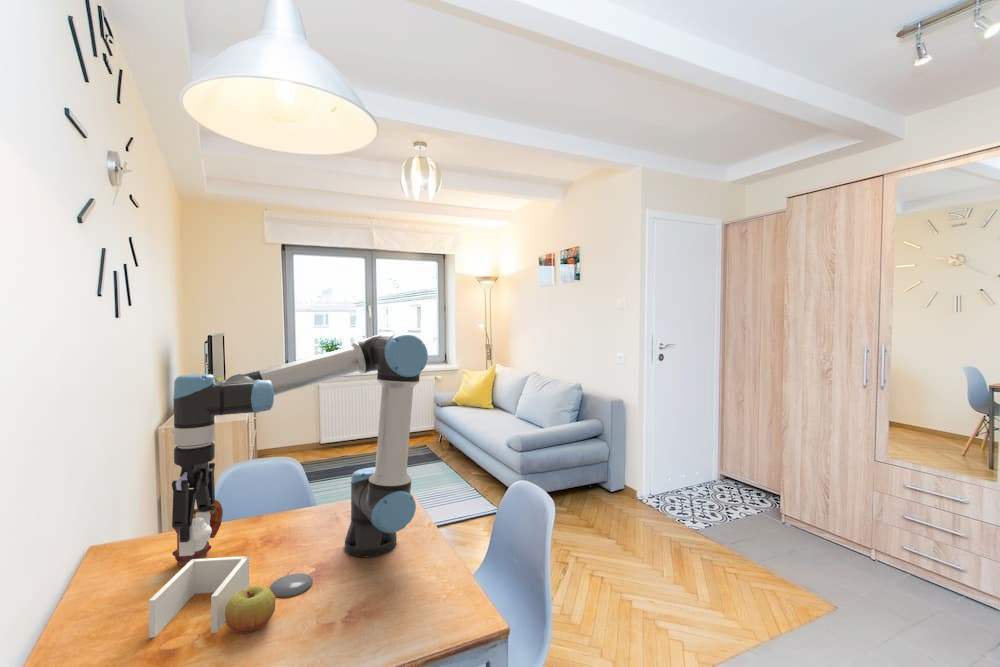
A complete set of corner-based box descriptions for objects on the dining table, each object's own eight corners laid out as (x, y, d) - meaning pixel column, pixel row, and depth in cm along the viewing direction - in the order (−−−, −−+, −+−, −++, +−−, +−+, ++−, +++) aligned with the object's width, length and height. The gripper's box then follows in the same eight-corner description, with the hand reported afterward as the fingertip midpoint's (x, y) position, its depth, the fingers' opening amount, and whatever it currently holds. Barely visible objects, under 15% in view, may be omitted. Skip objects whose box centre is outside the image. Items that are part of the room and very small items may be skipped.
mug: (189, 572, 122) (189, 516, 122) (164, 569, 124) (164, 514, 124) (232, 547, 136) (232, 497, 136) (208, 544, 138) (208, 494, 138)
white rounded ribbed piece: (191, 541, 105) (191, 511, 105) (218, 542, 105) (217, 512, 105) (171, 555, 99) (171, 523, 99) (199, 556, 99) (199, 523, 99)
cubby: (249, 587, 116) (249, 556, 116) (217, 632, 99) (217, 595, 99) (191, 591, 114) (191, 559, 114) (148, 637, 97) (148, 600, 97)
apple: (221, 645, 95) (221, 607, 95) (228, 618, 104) (228, 583, 104) (274, 633, 99) (274, 596, 99) (276, 607, 108) (276, 574, 107)
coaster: (316, 574, 122) (316, 572, 122) (306, 596, 112) (306, 594, 112) (277, 576, 121) (277, 574, 121) (263, 599, 111) (263, 596, 111)
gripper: (198, 434, 111) (198, 529, 111) (149, 456, 92) (150, 571, 92) (231, 433, 112) (231, 527, 112) (190, 455, 93) (190, 568, 93)
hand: (195, 547), depth 102 cm, fingers closed on white rounded ribbed piece, 6 cm apart
